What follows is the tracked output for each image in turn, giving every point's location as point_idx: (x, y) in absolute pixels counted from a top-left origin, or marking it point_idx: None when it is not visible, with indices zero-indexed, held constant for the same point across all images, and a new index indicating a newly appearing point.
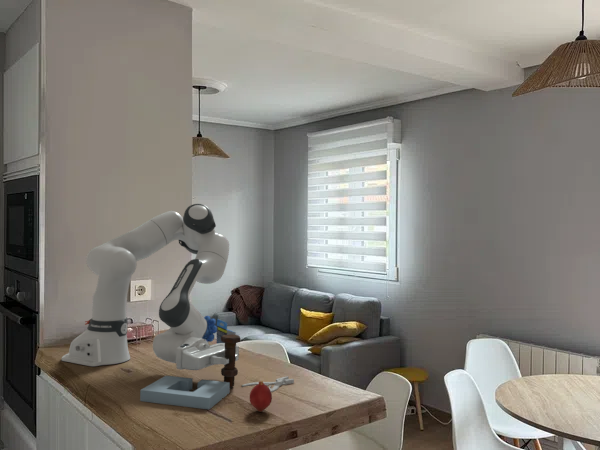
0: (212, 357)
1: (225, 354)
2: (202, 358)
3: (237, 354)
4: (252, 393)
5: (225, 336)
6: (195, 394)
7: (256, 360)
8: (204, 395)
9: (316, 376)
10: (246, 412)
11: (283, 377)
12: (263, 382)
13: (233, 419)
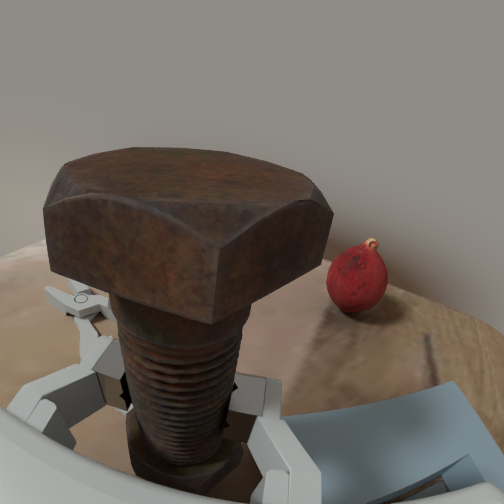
0: (317, 495)
1: (225, 385)
2: (451, 492)
3: (100, 337)
4: (387, 276)
5: (258, 185)
6: (473, 429)
7: None
8: (455, 403)
9: (23, 252)
10: (372, 331)
11: (56, 295)
12: (87, 352)
13: (419, 336)
